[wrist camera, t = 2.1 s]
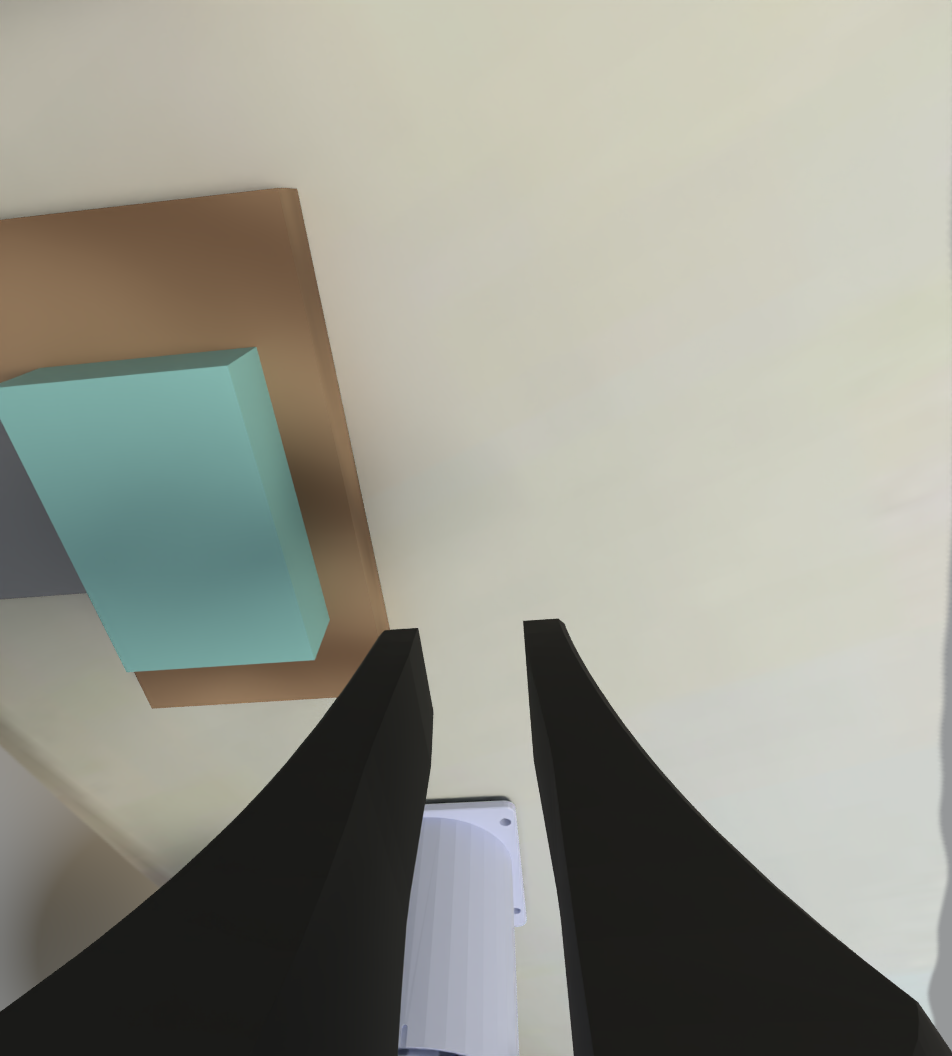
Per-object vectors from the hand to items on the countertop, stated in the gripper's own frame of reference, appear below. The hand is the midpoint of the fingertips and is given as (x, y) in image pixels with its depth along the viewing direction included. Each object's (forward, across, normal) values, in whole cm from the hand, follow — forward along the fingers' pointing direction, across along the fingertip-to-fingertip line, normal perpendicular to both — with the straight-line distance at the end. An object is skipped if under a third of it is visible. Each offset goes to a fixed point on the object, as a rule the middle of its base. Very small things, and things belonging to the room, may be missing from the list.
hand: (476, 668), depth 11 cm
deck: (+9, +8, 0) cm, 13 cm away
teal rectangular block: (+8, +8, 0) cm, 12 cm away
